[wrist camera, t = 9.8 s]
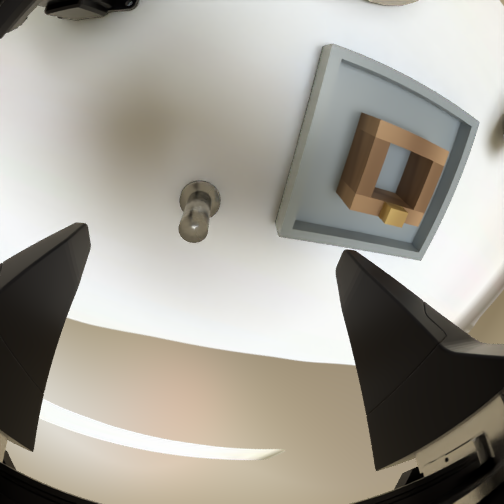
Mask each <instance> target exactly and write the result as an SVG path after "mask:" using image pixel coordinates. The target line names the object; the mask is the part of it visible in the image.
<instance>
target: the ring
mask: <svg viewBox="0 0 504 504" xmlns="http://www.w3.org/2000/svg"><path fill="white" fill-rule="evenodd" d="M390 143H392V144H395V145H397V146H400V147H402V148H405V149H407V150H409V151H411V153H410V156H409V158H408V161H407V164H406V167H405V169H404V172H403V175H402V177H401V180H400V182H399V185H398V188H397V190H396V193H393V192H390V191H386V190H383V189H380V188H376V187H375V185H376V183H377V180H378V177H379V175H380V172H381V169H382V166H383V164H384V161H385V158H386V155H387V152H388V149H389V146H390ZM448 154H449V151H447V150H445V149H443V148H441V147H439V146H437V145H436V144H434V143H432V142H430V141H428V140H426V139H424V138H422V137H419V136H417V135H415V134H413V133H411V132H409V131H407V130H404V129H402V128H400V127H398V126H395V125H393V124H391V123H388V122H386V121H383V120H381V119H378V118H376V117H373V116H370V115H367V114H365V113H362V112H361V115H360V119H359V122H358V125H357V129H356V132H355V135H354V138H353V142H352V145H351V148H350V151H349V154H348V157H347V160H346V163H345V166H344V169H343V172H342V175H341V178H340V181H339V184H338V187H337V190H336V193H337V194H338V195H339V197H340V198H341V199H342V200H343V202H344V203H345V204H346V206H347V207H348V208H349V210H353V211H357V212H361V213H366V214H370V215H374V216H378V217H379V218H380V219H381V220H382V221H383V223H384V224H388V225H392V226H396V227H400V228H402V226H403V224H404V223H406V224H409V225H413V226H417V227H418V226H419V224H420V222H421V220H422V218H423V215H424V213H425V211H426V209H427V207H428V204H429V202H430V200H431V197H432V195H433V193H434V190H435V188H436V186H437V183H438V181H439V178H440V176H441V173H442V170H443V168H444V165H445V163H446V160H447V157H448Z"/></svg>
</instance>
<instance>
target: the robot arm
mask: <svg viewBox="0 0 504 504" xmlns="http://www.w3.org/2000/svg"><path fill="white" fill-rule="evenodd" d="M130 1H132V2H133V3H132V4H131V5H130V6H127V4H128V3H129V2H130ZM138 1H139V0H0V39H1V38H2V37H3V36H4V35H5V34H6V33H8V32H10V31H12V30H14V29H17V28H18V27H19V26H20V25H22V24H23V23H24V21H25V20H26V19H27V16H28V15H29V14H30V13H31V12H32V11H33V10H34V9H35V8H36V7H37V6H43V7H46V8H45V11H44V12H45V13H46V15H51V16H57V17H58V18H61V19H65V18H67V19H72V20H80V19H87V18H94V17H102V16H105V15H106V14H107V13H108V12H112V11H124V10H132V9H134V8H135V7H136V6H137V4H138ZM90 248H91V243H90V237H89V231H88V226H87V224H86V223H74V224H72V225H70V226H68V227H66V228H64V229H62V230H60V231H58V232H56V233H54V234H52V235H50V236H48V237H47V238H45V239H43V240H41V241H39V242H37V243H35V244H34V245H32V246H30V247H28V248H26V249H25V250H23V251H21V252H19V253H18V254H16V255H14V256H12V257H11V258H9V259H7V260H6V261H4V262H3V263H1V264H0V504H101V503H98V502H94V501H91V500H88V499H84V498H81V497H78V496H75V495H72V494H70V493H67V492H64V491H62V490H59V489H56V488H54V487H51V486H49V485H47V484H44V483H42V482H40V481H37V480H35V479H33V478H31V477H29V476H27V475H25V474H23V473H21V472H19V471H17V470H16V469H15V467H14V465H13V463H12V461H11V459H10V457H9V454H8V452H7V451H6V450H5V448H6V444H7V440H9V441H11V442H13V443H14V444H17V445H19V446H21V447H23V448H25V449H27V450H29V451H32V452H33V450H34V444H35V438H36V430H37V425H38V420H39V415H40V410H41V405H42V400H43V396H44V394H43V393H44V390H45V387H46V382H47V378H48V375H49V371H50V367H51V364H52V360H53V357H54V354H55V350H56V347H57V344H58V341H59V338H60V335H61V332H62V329H63V326H64V323H65V320H66V317H67V315H68V312H69V309H70V307H71V304H72V301H73V299H74V296H75V294H76V291H77V289H78V286H79V283H80V280H81V277H82V274H83V270H84V267H85V264H86V261H87V258H88V255H89V252H90ZM336 279H337V284H338V290H339V296H340V303H341V308H342V312H343V316H344V320H345V324H346V328H347V332H348V335H349V339H350V343H351V347H352V351H353V356H354V360H355V364H356V368H357V373H358V377H359V382H360V386H361V391H362V396H363V401H364V406H365V411H366V415H367V422H368V427H369V433H370V439H371V445H372V451H373V457H374V464H375V469H376V471H379V470H382V469H385V468H388V467H391V466H394V465H397V464H400V463H403V462H405V461H408V460H411V459H414V458H416V461H417V465H418V467H416V468H414V469H411V470H409V471H407V472H404V473H403V474H402V475H401V477H400V479H399V481H398V483H397V485H396V487H395V489H394V490H392V491H389V492H386V493H383V494H380V495H377V496H374V497H371V498H368V499H365V500H361V501H358V502H354V503H351V504H504V344H486V343H482V342H479V341H477V340H475V339H474V338H472V337H471V336H470V335H468V334H467V333H466V332H464V331H463V330H462V329H460V328H459V327H457V326H456V325H455V324H453V323H452V322H451V321H449V320H448V319H447V318H445V317H444V316H442V315H441V314H440V313H438V312H437V311H436V310H435V309H433V308H432V307H431V306H429V305H428V304H427V303H426V302H423V300H422V299H420V298H419V297H418V296H416V295H415V294H414V293H413V292H411V291H410V290H409V289H407V288H406V287H405V286H403V285H402V284H401V283H399V282H398V281H397V280H395V279H394V278H393V277H391V276H390V275H389V274H387V273H386V272H384V271H383V270H382V269H380V268H379V267H378V266H376V265H375V264H373V263H372V262H371V261H369V260H368V259H366V258H365V257H364V256H362V255H361V254H359V253H358V252H356V251H354V250H344V251H343V253H342V255H341V257H340V260H339V262H338V265H337V267H336Z"/></svg>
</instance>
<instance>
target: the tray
mask: <svg viewBox="0 0 504 504" xmlns="http://www.w3.org/2000/svg"><path fill="white" fill-rule="evenodd" d="M361 112H362V113H365V114H367V115H370V116H373V117H376V118H378V119H381V120H383V121H386V122H388V123H391V124H393V125H395V126H398V127H400V128H402V129H404V130H407V131H409V132H411V133H413V134H415V135H417V136H419V137H422V138H424V139H426V140H428V141H430V142H432V143H434V144H436V145H437V146H439V147H441V148H443V149H445V150H447V151H449V154H448V157H447V160H446V163H445V165H444V168H443V170H442V173H441V176H440V178H439V181H438V183H437V186H436V188H435V190H434V193H433V195H432V197H431V200H430V202H429V204H428V207H427V209H426V211H425V213H424V215H423V218H422V220H421V222H420V224H419V226H418V227H417V226H413V225H409V224H406V223H404V224H403V226H402V228H400V227H396V226H392V225H388V224H384V223H383V221H382V220H381V219H380V218H379V217H378V216H374V215H370V214H366V213H361V212H357V211H353V210H349V208H348V207H347V206H346V204H345V203H344V202H343V200H342V199H341V198H340V197H339V195H338V194H337V193H336V190H337V187H338V184H339V181H340V178H341V175H342V172H343V169H344V166H345V163H346V160H347V157H348V154H349V151H350V148H351V145H352V142H353V138H354V135H355V132H356V129H357V125H358V122H359V119H360V115H361ZM478 126H479V121H478V120H476V119H475V118H474V117H472V116H471V115H469V114H468V113H467V112H465V111H464V110H462V109H461V108H459V107H458V106H457V105H455V104H454V103H452V102H451V101H449V100H447V99H446V98H444V97H443V96H441V95H440V94H438V93H436V92H435V91H433V90H431V89H430V88H428V87H426V86H425V85H423V84H421V83H419V82H417V81H416V80H414V79H412V78H410V77H408V76H406V75H404V74H403V73H401V72H399V71H397V70H395V69H393V68H390V67H388V66H386V65H384V64H382V63H380V62H378V61H375V60H373V59H371V58H369V57H366V56H364V55H361V54H359V53H356V52H354V51H351V50H349V49H346V48H344V47H341V46H338V45H335V44H329V45H326V46H323V49H322V52H321V56H320V60H319V64H318V68H317V72H316V76H315V80H314V83H313V87H312V91H311V95H310V99H309V102H308V106H307V110H306V114H305V117H304V121H303V125H302V129H301V132H300V136H299V140H298V143H297V147H296V151H295V154H294V158H293V162H292V165H291V169H290V172H289V176H288V180H287V183H286V187H285V190H284V194H283V198H282V201H281V205H280V208H279V212H278V215H277V219H276V222H275V224H276V228H277V232H278V236H279V237H284V238H291V239H297V240H303V241H309V242H316V243H322V244H328V245H334V246H340V247H346V248H352V249H358V250H363V251H369V252H375V253H381V254H386V255H392V256H398V257H403V258H409V259H414V260H420V261H421V260H422V258H423V256H424V254H425V252H426V250H427V249H428V247H429V245H430V243H431V241H432V239H433V237H434V235H435V233H436V231H437V229H438V227H439V225H440V223H441V221H442V219H443V217H444V215H445V213H446V210H447V208H448V206H449V204H450V201H451V199H452V197H453V195H454V192H455V190H456V188H457V185H458V183H459V180H460V178H461V175H462V173H463V170H464V167H465V165H466V162H467V159H468V156H469V154H470V151H471V148H472V145H473V142H474V139H475V136H476V132H477V129H478ZM410 153H411V151H409V150H407V149H405V148H402V147H400V146H397V145H395V144H392V143H390V146H389V149H388V152H387V155H386V158H385V161H384V164H383V166H382V169H381V172H380V175H379V177H378V180H377V183H376V185H375V187H376V188H380V189H383V190H386V191H390V192H393V193H396V190H397V188H398V185H399V182H400V180H401V177H402V175H403V172H404V169H405V167H406V164H407V161H408V158H409V156H410Z"/></svg>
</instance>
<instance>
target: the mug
mask: <svg viewBox="0 0 504 504" xmlns="http://www.w3.org/2000/svg"><path fill="white" fill-rule="evenodd" d="M368 1H370V2H374V3H378V4H382V5H396V6H402V5H406V4H410V3H413V2H416V1H418V0H368Z"/></svg>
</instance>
